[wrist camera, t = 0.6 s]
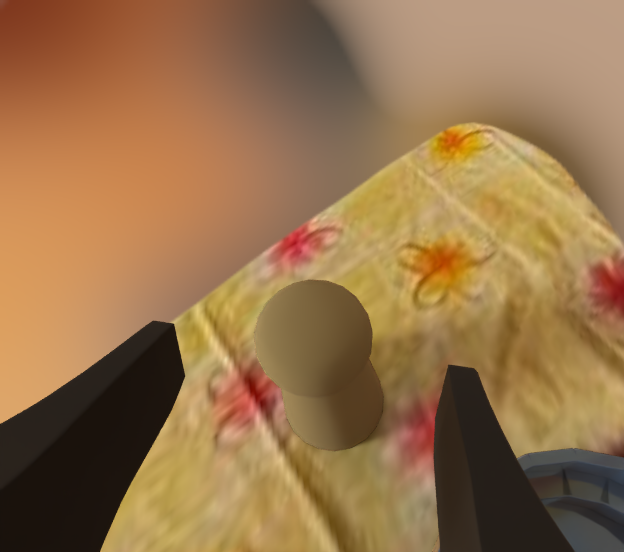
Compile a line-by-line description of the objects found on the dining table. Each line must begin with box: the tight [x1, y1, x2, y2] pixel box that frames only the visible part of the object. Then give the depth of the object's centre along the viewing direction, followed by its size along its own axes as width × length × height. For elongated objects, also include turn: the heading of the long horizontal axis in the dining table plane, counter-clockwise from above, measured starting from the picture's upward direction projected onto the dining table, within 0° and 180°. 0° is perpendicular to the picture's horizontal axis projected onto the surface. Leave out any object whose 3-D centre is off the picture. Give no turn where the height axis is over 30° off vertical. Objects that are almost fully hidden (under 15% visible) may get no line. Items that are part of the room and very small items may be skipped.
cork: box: [254, 280, 384, 451], centre depth 24 cm, size 6×6×11 cm
